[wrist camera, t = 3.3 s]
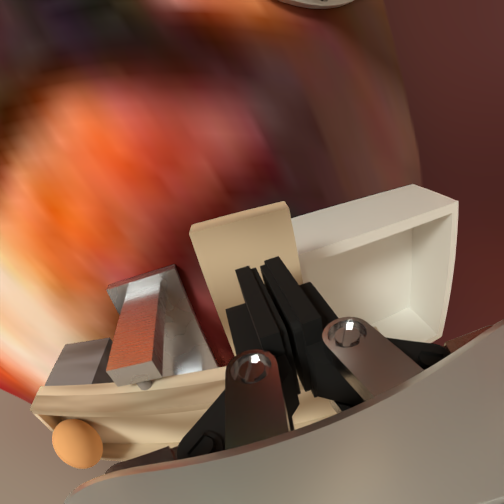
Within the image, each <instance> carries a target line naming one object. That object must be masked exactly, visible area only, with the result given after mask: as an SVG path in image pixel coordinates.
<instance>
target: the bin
mask: <svg viewBox="0 0 504 504" xmlns="http://www.w3.org/2000/svg"><path fill="white" fill-rule="evenodd" d="M291 221H292V226H293V231H294V237H295V242H296V247H297V252H298V258H299V263H300V269H301V274H302V280H303V284H304V283H307V282H311V283H312V284H313V285H314V287H315V288H316V289H317V291H318V292H319V293H320V294H321V296H322V297H323V298H324V300H325V301H326V302H327V304H328V305H329V306H330V307H331V309H332V310H333V311H334V313H335V314H336V315H337V317H338V318H342V317H357V318H360V319H363V320H364V321H366V322H368V323H369V324H370V325H371V326H372V327H375V326H376V327H377V329H378V331H379V332H380V333H381V334H382V335H383V336H384V337H386V338H393V339H401V340H408V341H416V342H424V343H432V342H433V341H435V340H437V339H438V338H440V337H442V333H443V329H444V324H445V318H446V314H447V309H448V303H449V298H450V291H451V284H452V278H453V271H454V261H455V253H456V241H457V240H456V239H457V226H458V201H457V200H454V199H452V198H449V197H446V196H444V195H441V194H439V193H436V192H433V191H431V190H428V189H425V188H423V187H420V186H417V185H414V184H412V185H408V186H404V187H401V188H397V189H393V190H390V191H386V192H382V193H379V194H375V195H371V196H368V197H364V198H361V199H357V200H354V201H350V202H346V203H343V204H339V205H336V206H332V207H329V208H325V209H322V210H318V211H315V212H312V213H308V214H305V215H301V216H298V217H294V218H291Z"/></svg>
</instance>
